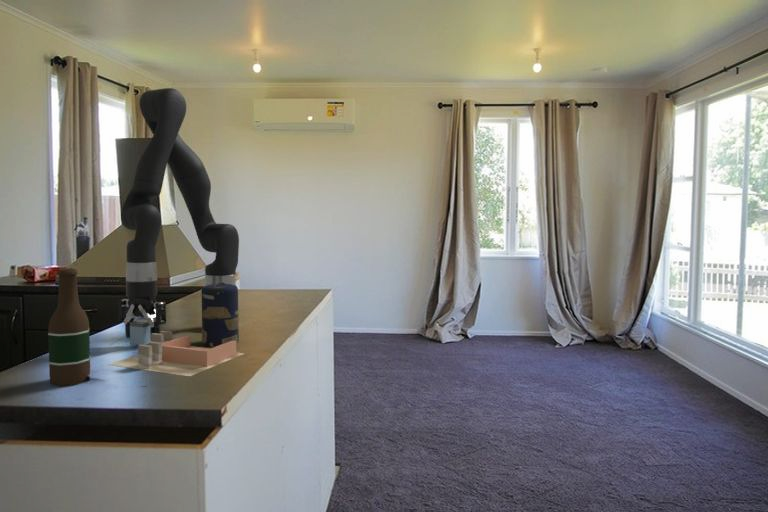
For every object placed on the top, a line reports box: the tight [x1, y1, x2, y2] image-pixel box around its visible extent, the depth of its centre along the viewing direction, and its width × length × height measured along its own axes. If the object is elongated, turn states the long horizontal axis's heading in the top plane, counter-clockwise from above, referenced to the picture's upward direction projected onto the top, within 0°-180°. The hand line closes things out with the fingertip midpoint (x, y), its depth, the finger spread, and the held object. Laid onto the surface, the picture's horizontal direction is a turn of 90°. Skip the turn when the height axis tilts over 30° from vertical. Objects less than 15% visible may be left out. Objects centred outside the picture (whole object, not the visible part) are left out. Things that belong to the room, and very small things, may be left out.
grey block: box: [129, 318, 155, 348], centre depth 138 cm, size 4×4×7 cm
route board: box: [107, 330, 245, 377], centre depth 123 cm, size 20×23×6 cm
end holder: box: [162, 334, 240, 367], centre depth 124 cm, size 12×15×4 cm
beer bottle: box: [47, 268, 91, 387], centre depth 108 cm, size 8×8×24 cm
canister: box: [201, 282, 240, 348], centre depth 138 cm, size 10×10×18 cm
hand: (142, 338), depth 138 cm, fingers open, 8 cm apart
